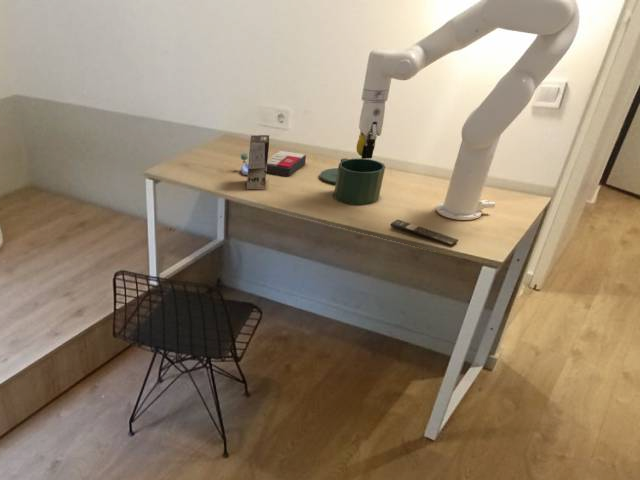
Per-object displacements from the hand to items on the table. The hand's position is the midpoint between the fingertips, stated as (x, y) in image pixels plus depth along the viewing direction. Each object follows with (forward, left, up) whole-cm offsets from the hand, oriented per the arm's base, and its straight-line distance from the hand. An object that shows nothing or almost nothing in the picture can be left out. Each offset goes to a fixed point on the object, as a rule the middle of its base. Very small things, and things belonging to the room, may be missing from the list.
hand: (364, 154), depth 198 cm
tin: (0, 0, -14) cm, 14 cm away
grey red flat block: (+20, -30, -14) cm, 39 cm away
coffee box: (+32, -13, -14) cm, 37 cm away
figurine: (+33, -26, -14) cm, 44 cm away
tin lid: (+1, -18, -13) cm, 23 cm away
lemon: (0, 0, -1) cm, 1 cm away
